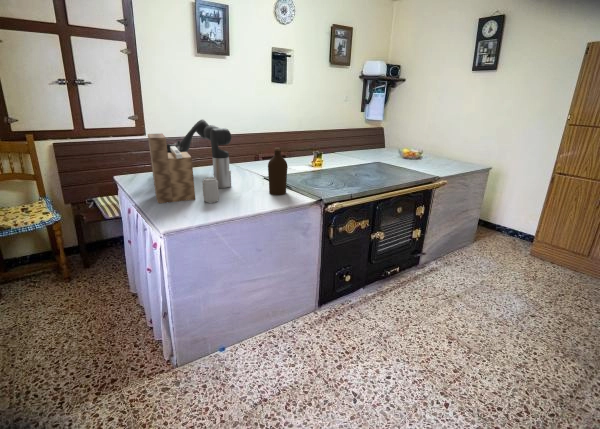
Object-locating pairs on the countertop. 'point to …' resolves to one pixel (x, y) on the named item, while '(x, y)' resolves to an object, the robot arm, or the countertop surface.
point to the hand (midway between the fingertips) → (170, 142)
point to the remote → (175, 152)
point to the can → (210, 190)
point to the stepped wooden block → (170, 172)
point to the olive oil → (277, 174)
